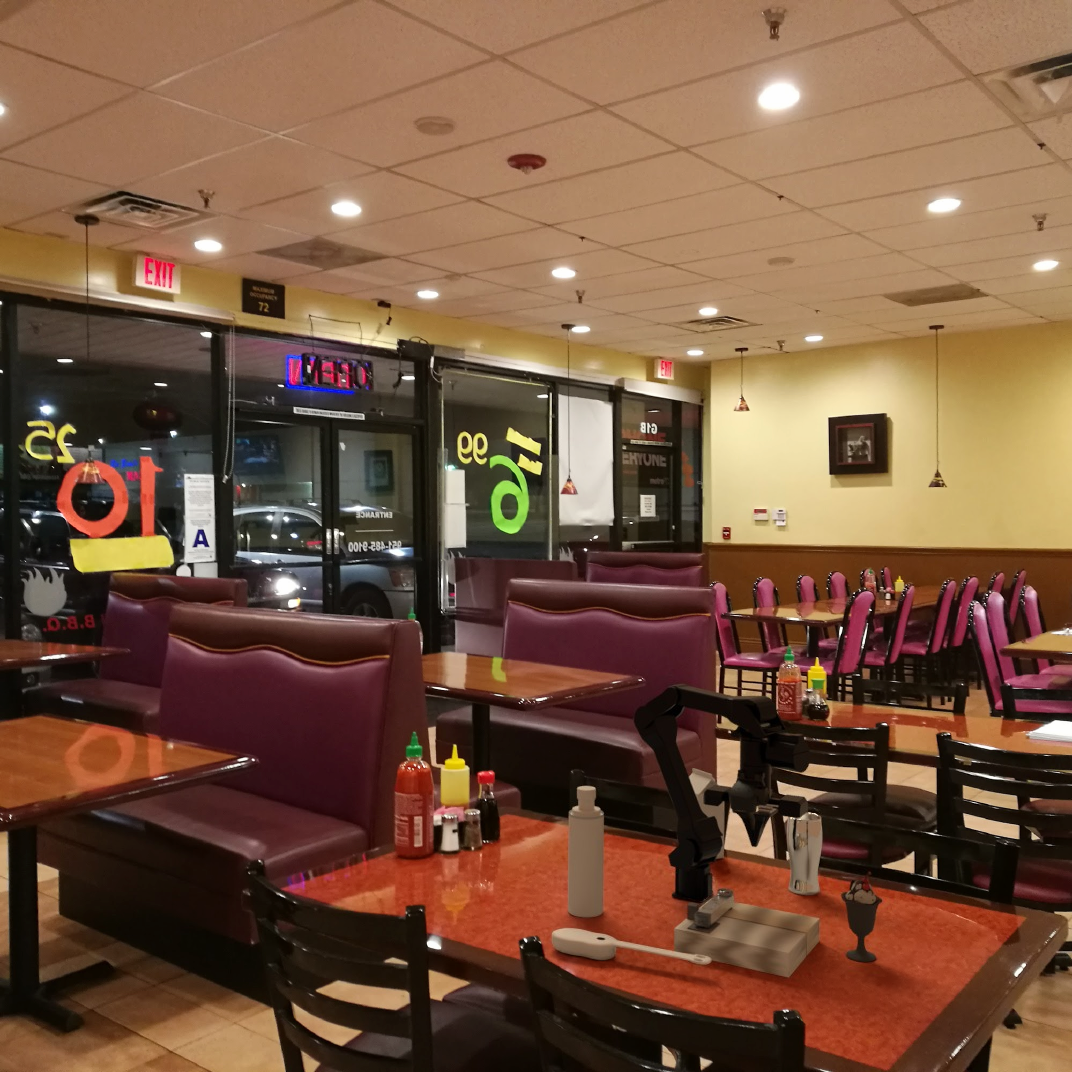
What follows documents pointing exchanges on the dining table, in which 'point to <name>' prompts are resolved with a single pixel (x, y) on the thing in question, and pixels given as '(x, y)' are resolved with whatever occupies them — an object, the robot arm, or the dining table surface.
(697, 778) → the milk carton
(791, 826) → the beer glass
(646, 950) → the handheld milk frother
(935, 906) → the dining table surface
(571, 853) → the spray bottle
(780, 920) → the wooden case with bar
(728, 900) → the latch bar
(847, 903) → the sundae
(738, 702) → the robot arm
